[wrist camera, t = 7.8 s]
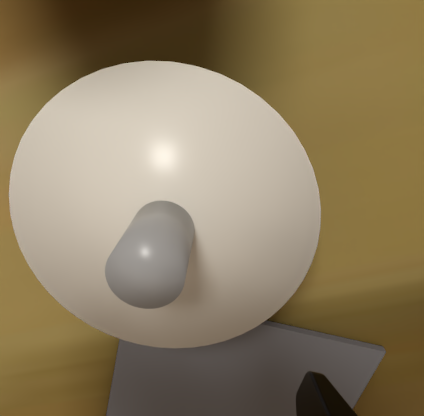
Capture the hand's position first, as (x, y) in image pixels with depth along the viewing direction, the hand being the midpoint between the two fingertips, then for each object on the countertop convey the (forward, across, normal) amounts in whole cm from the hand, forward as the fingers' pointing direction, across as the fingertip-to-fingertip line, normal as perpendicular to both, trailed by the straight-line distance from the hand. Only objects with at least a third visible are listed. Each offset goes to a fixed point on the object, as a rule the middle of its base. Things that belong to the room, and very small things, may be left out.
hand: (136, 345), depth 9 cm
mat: (+12, -7, +17) cm, 22 cm away
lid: (+7, 0, 0) cm, 7 cm away
